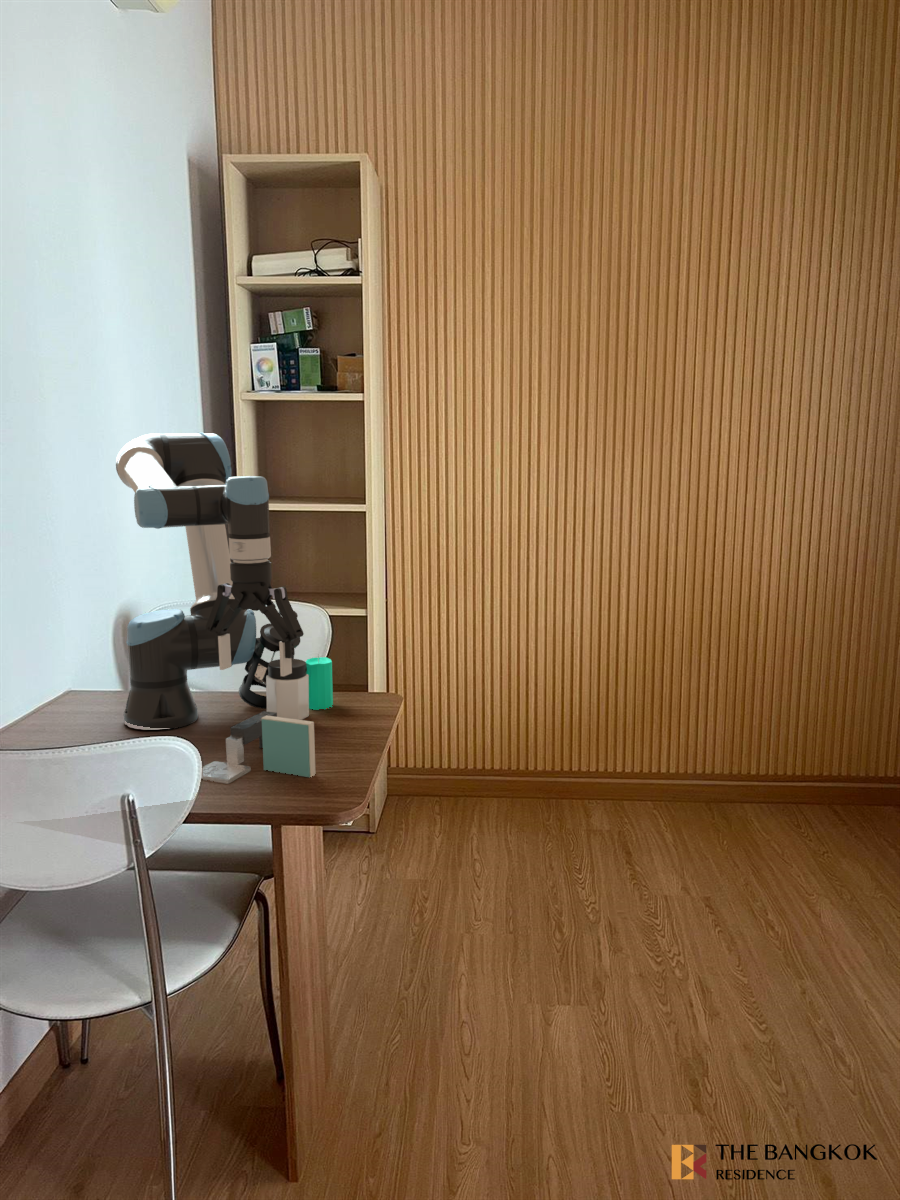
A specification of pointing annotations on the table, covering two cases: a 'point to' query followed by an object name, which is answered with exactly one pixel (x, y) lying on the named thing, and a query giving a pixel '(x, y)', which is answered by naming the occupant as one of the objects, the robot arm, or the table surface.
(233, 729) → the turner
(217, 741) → the table surface
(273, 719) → the tile
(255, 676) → the french press
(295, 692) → the jar
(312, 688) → the candle
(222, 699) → the table surface
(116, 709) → the table surface
